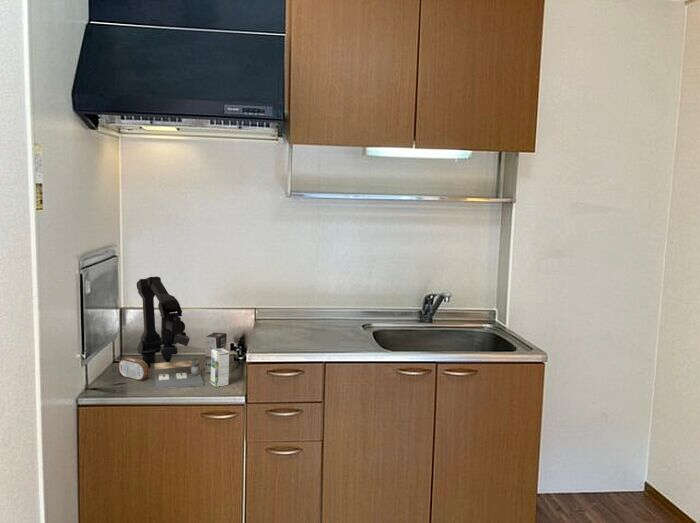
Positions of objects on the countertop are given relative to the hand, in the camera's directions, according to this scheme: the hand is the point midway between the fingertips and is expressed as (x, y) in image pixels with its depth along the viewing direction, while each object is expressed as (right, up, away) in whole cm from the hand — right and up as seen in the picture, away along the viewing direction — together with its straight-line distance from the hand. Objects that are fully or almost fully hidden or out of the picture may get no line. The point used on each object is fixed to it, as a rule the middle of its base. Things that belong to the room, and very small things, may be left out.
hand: (167, 364), depth 234 cm
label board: (+5, -7, -3) cm, 9 cm away
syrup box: (+22, -8, -3) cm, 24 cm away
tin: (-14, -6, 0) cm, 16 cm away
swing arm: (+3, -1, 0) cm, 3 cm away
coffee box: (+16, -5, +16) cm, 23 cm away
